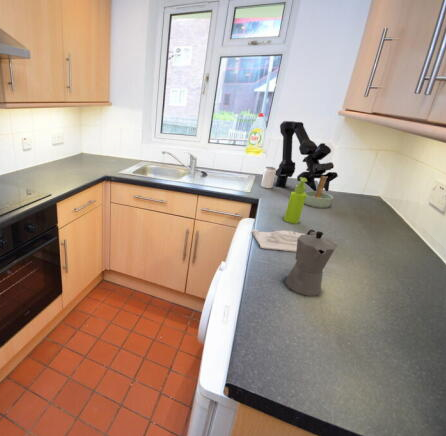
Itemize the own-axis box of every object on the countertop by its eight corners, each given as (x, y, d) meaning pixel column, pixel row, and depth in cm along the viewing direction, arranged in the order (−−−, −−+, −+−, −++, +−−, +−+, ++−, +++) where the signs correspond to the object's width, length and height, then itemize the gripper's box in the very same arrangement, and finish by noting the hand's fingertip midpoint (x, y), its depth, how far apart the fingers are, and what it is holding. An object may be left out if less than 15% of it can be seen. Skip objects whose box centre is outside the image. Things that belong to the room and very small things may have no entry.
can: (269, 185, 186) (274, 166, 181) (273, 188, 180) (278, 169, 175) (259, 185, 186) (263, 166, 181) (262, 188, 180) (267, 168, 175)
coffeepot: (325, 304, 80) (347, 245, 73) (287, 295, 83) (304, 238, 76) (314, 274, 94) (332, 223, 86) (281, 268, 97) (296, 217, 90)
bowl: (300, 198, 165) (302, 189, 163) (328, 202, 160) (330, 193, 158) (302, 205, 154) (304, 196, 152) (332, 210, 148) (335, 200, 147)
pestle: (310, 200, 159) (317, 175, 153) (320, 202, 157) (328, 176, 152) (311, 203, 155) (319, 177, 149) (321, 204, 153) (330, 178, 148)
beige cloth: (246, 234, 122) (248, 223, 120) (303, 234, 121) (306, 223, 119) (264, 254, 106) (266, 242, 104) (329, 254, 106) (332, 242, 104)
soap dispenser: (285, 223, 131) (297, 179, 124) (283, 217, 137) (294, 175, 130) (300, 225, 130) (313, 181, 122) (297, 219, 136) (309, 177, 128)
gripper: (306, 156, 150) (315, 183, 144) (341, 156, 151) (351, 183, 145) (293, 167, 160) (300, 193, 154) (325, 168, 162) (334, 193, 156)
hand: (321, 191), depth 152 cm, fingers open, 6 cm apart
